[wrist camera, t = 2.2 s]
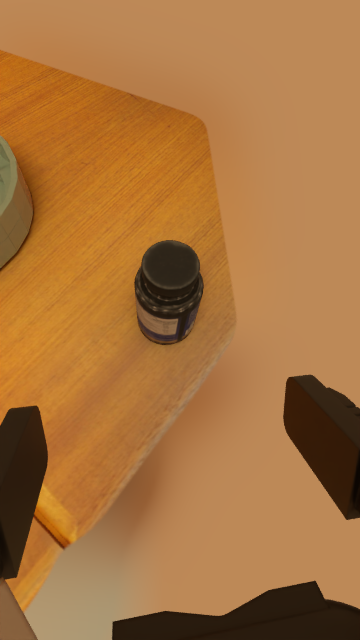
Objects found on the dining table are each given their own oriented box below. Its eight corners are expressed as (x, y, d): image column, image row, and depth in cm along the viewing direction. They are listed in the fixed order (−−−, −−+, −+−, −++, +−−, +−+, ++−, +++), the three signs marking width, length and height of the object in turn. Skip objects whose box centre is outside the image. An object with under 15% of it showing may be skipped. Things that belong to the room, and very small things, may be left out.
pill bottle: (174, 286, 39) (183, 221, 29) (204, 329, 37) (224, 275, 27) (126, 310, 38) (118, 250, 28) (155, 357, 36) (157, 310, 26)
